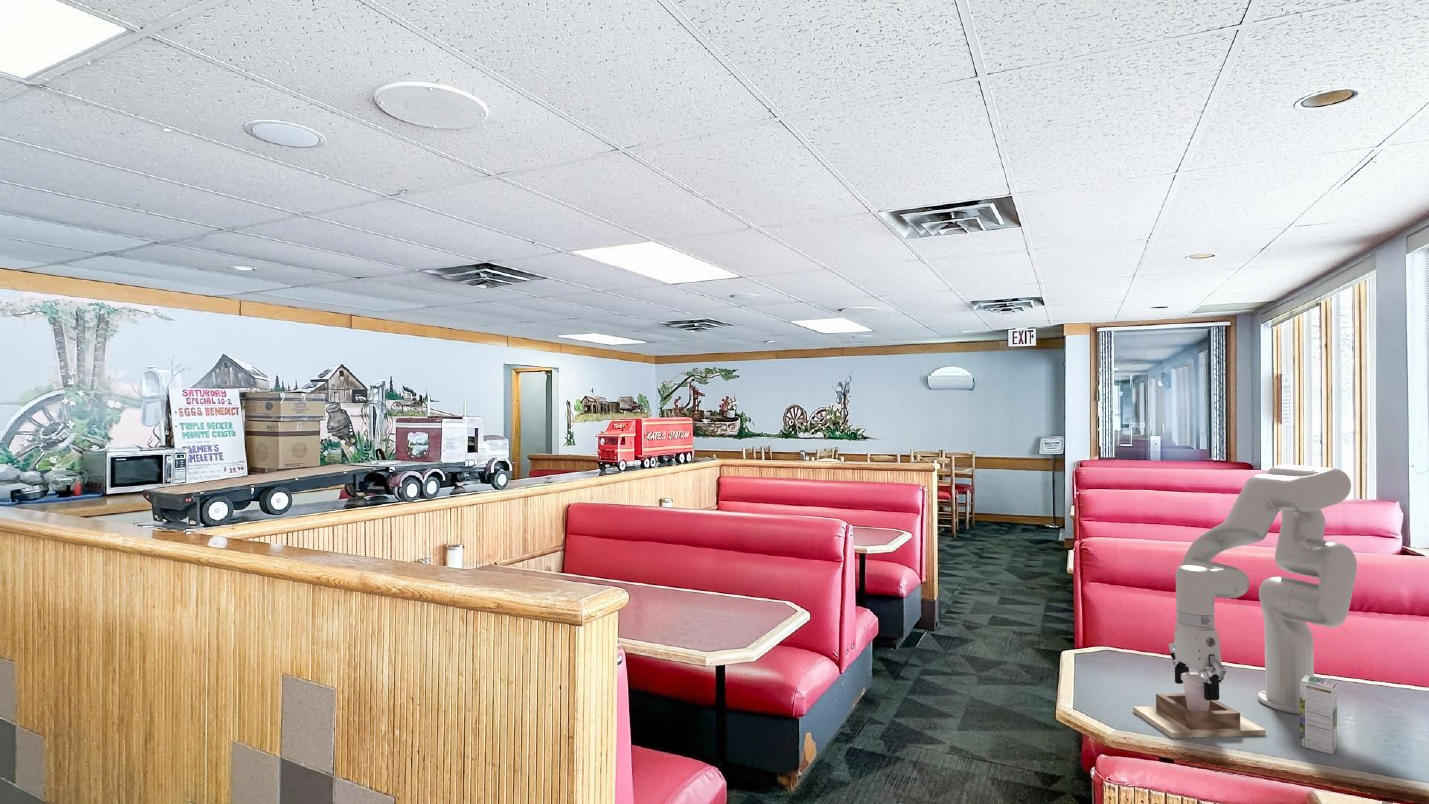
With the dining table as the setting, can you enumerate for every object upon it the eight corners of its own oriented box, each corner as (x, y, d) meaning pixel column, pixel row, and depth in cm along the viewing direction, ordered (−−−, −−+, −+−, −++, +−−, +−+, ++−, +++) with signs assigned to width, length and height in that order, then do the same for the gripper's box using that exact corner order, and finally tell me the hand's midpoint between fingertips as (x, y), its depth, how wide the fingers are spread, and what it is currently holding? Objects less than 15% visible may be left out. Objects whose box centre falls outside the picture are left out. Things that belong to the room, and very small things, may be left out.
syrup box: (1303, 738, 160) (1302, 673, 161) (1338, 747, 156) (1337, 680, 156) (1299, 746, 157) (1298, 680, 157) (1334, 755, 152) (1333, 688, 152)
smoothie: (1219, 724, 165) (1218, 664, 165) (1189, 723, 166) (1187, 663, 166) (1206, 712, 171) (1204, 654, 171) (1176, 711, 172) (1175, 653, 172)
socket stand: (1219, 709, 176) (1219, 690, 176) (1265, 735, 162) (1265, 714, 162) (1133, 711, 175) (1132, 692, 175) (1172, 738, 161) (1172, 717, 161)
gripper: (1239, 630, 160) (1240, 706, 160) (1184, 608, 177) (1185, 677, 177) (1206, 630, 160) (1208, 707, 160) (1155, 609, 177) (1156, 677, 177)
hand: (1196, 691), depth 169 cm, fingers open, 9 cm apart
